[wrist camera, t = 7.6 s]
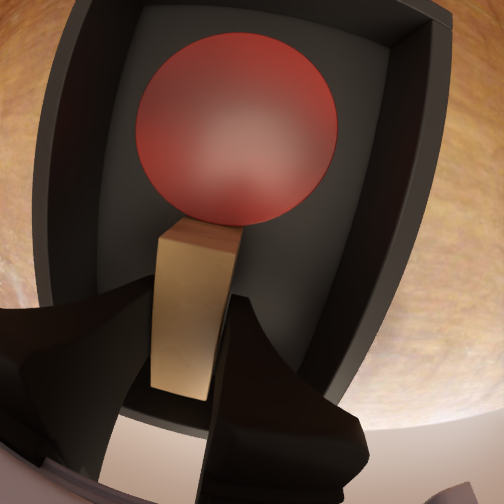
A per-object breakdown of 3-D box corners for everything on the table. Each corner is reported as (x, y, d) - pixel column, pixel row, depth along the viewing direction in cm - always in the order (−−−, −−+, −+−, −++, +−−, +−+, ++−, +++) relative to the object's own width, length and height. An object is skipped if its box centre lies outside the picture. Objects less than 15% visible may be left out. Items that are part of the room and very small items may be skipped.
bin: (299, 393, 14) (305, 452, 10) (93, 343, 14) (59, 389, 10) (404, 44, 8) (453, 13, 5) (138, -3, 8) (97, -43, 4)
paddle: (268, 361, 13) (268, 413, 10) (124, 326, 13) (95, 368, 10) (349, 64, 9) (379, 34, 6) (167, 32, 8) (135, -2, 5)
